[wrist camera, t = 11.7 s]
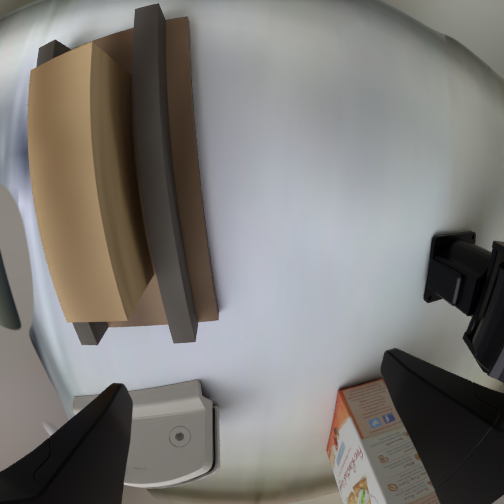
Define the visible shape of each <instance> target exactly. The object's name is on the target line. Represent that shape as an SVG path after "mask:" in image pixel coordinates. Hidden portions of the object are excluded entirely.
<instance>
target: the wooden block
mask: <svg viewBox="0 0 504 504" xmlns="http://www.w3.org/2000/svg"><path fill="white" fill-rule="evenodd" d="M28 152H29V166H30V176H31V185H32V193H33V199H34V206H35V212H36V217H37V222H38V227H39V232H40V237H41V241H42V245H43V249H44V253H45V257H46V261H47V264H48V268H49V271H50V275H51V278H52V281H53V284H54V288H55V291H56V294H57V296H58V299H59V302H60V305H61V308H62V310H63V313H64V316H65V318H66V321H67V322H108V321H128V319H129V317H130V315H131V314H132V312H133V310H134V308H135V307H136V305H137V303H138V301H139V300H140V298H141V296H142V294H143V293H144V291H145V289H146V288H147V286H148V284H149V283H150V281H151V279H152V278H153V276H154V274H153V269H152V264H151V260H150V255H149V250H148V245H147V240H146V234H145V229H144V223H143V217H142V211H141V204H140V198H139V191H138V183H137V175H136V167H135V157H134V147H133V136H132V122H131V102H130V74H129V73H128V72H127V71H126V70H125V69H124V68H122V67H121V66H120V65H119V64H118V63H117V62H116V61H114V60H113V59H112V58H111V57H110V56H109V55H108V54H106V53H105V52H104V51H103V50H102V49H101V48H99V47H98V46H97V45H96V44H95V43H94V42H90V43H88V44H85V45H83V46H80V47H78V48H75V49H73V50H71V51H68V52H66V53H64V54H62V55H60V56H58V57H55V58H53V59H51V60H49V61H47V62H45V63H44V64H42V65H40V66H38V67H36V68H34V69H32V70H31V73H30V83H29V97H28Z"/></svg>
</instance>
